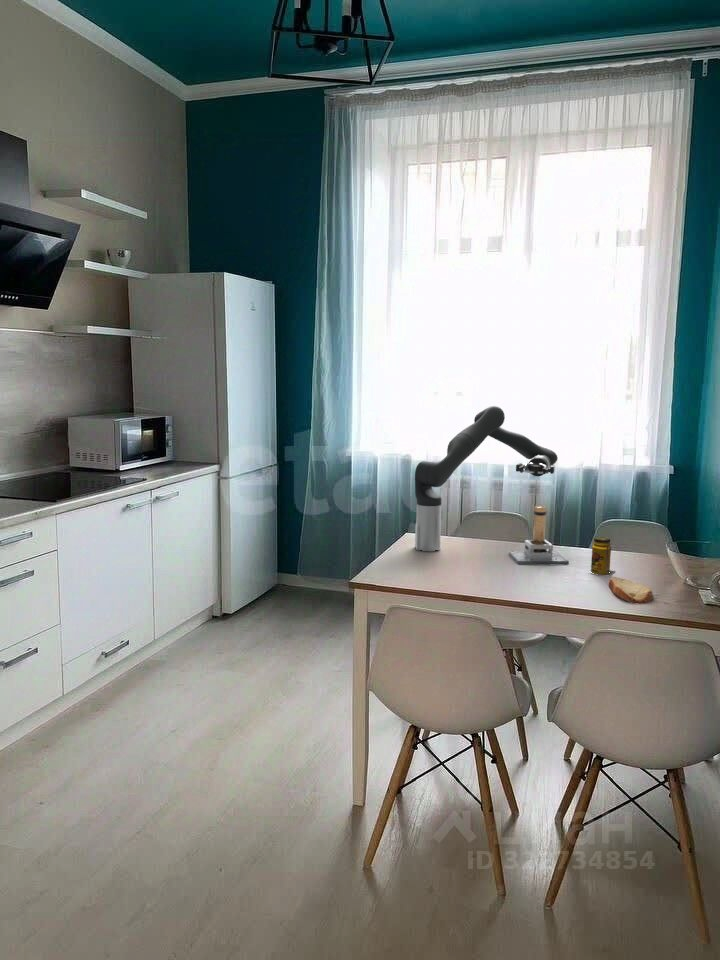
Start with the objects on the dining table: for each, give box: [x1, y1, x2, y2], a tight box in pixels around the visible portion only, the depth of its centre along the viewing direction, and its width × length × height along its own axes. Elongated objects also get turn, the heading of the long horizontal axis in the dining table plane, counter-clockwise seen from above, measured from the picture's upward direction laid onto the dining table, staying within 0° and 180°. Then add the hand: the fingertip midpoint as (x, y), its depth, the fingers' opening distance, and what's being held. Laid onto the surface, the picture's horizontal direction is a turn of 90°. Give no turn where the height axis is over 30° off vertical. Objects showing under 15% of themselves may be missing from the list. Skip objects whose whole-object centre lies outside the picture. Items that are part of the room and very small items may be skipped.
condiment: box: [589, 536, 616, 577], centre depth 249 cm, size 7×8×12 cm
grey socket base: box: [508, 539, 570, 565], centre depth 265 cm, size 18×14×6 cm
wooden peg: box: [532, 505, 547, 552], centre depth 264 cm, size 4×4×18 cm
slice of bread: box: [608, 577, 654, 604], centre depth 227 cm, size 18×18×4 cm
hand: (532, 470), depth 278 cm, fingers open, 8 cm apart
